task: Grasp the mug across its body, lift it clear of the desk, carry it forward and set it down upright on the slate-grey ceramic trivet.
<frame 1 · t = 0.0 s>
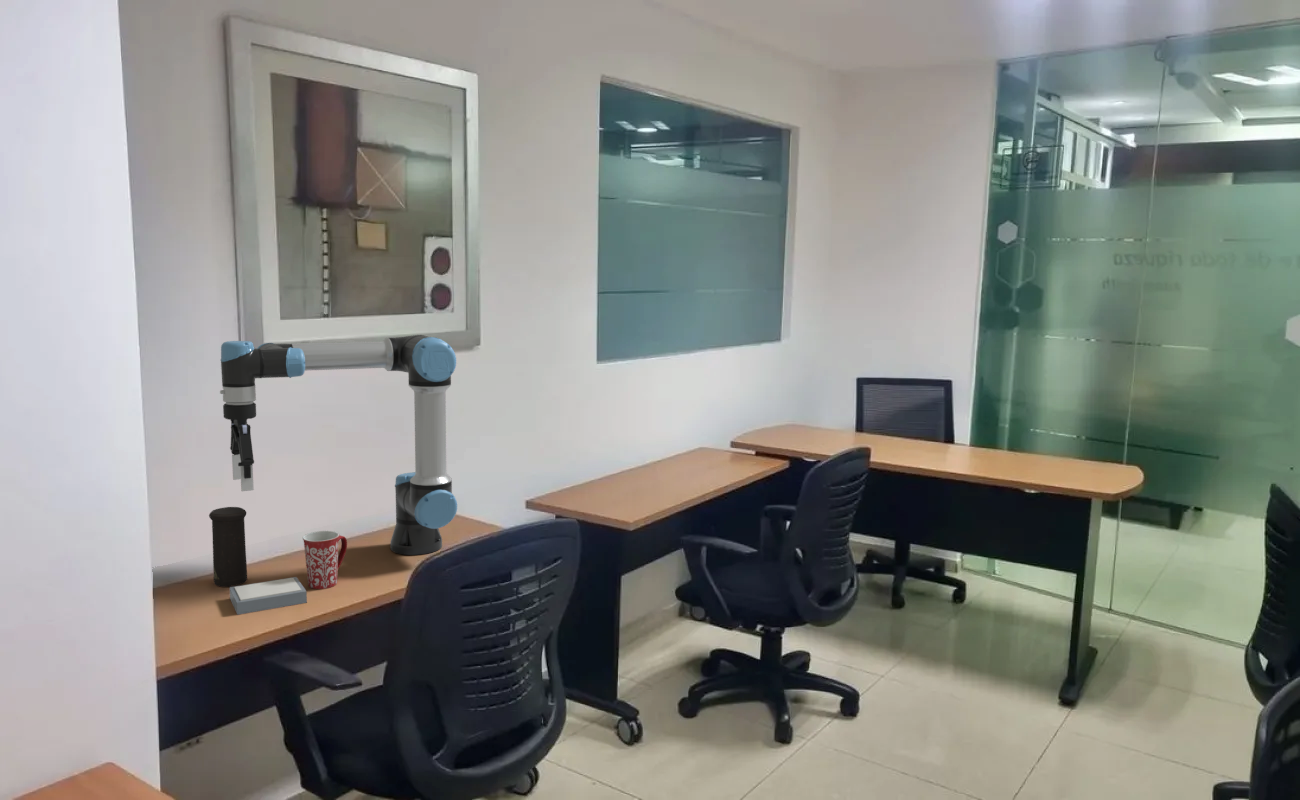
hand: (243, 484, 226), 28 cm above the table, fingers open, 13 cm apart
container: (230, 582, 236), on the table
trivet: (268, 600, 223), on the table
mug: (328, 583, 237), on the table
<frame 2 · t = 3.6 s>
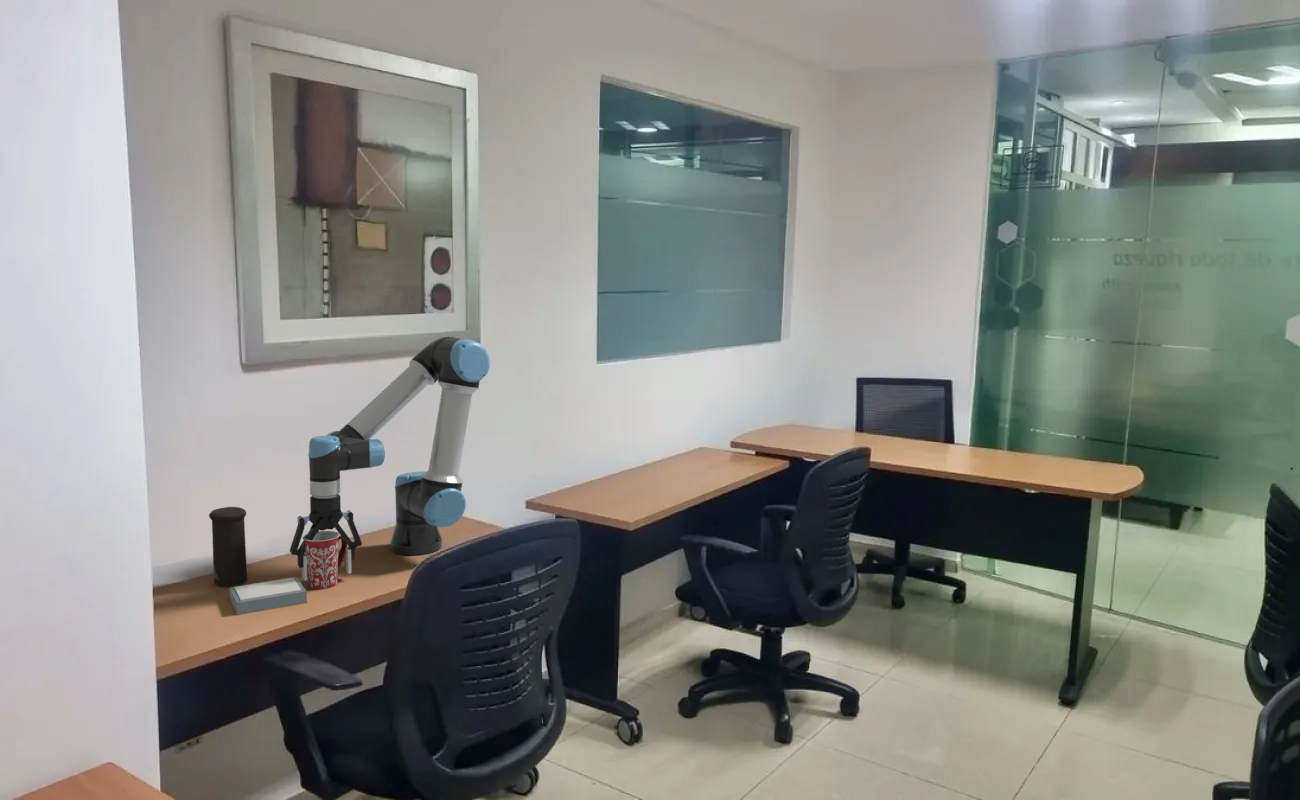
hand: (327, 575, 236), 2 cm above the table, fingers closed on mug, 11 cm apart
mug: (328, 583, 237), on the table, touching gripper
everything else where it was.
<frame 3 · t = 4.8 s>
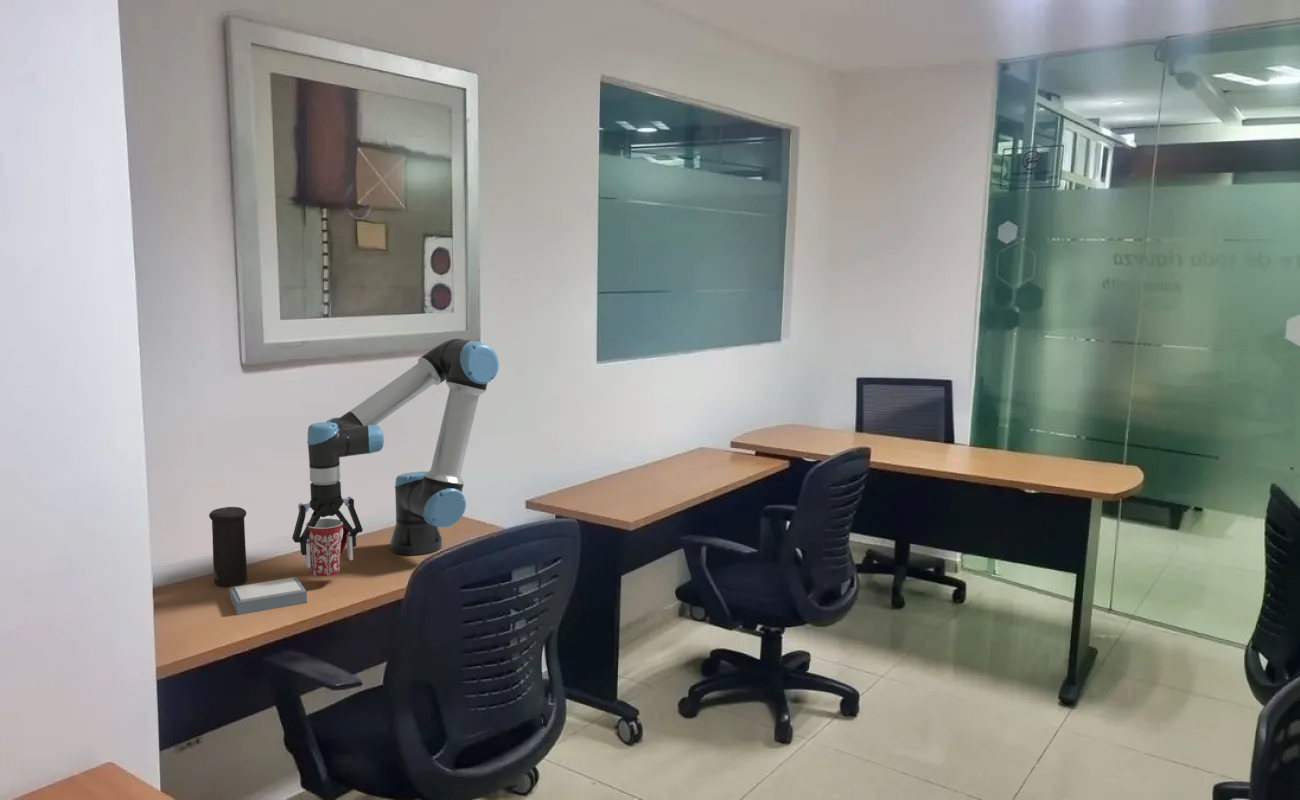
hand: (329, 562, 236), 6 cm above the table, fingers closed on mug, 10 cm apart
mug: (330, 571, 237), point 3 cm above the table, touching gripper
everything else where it was.
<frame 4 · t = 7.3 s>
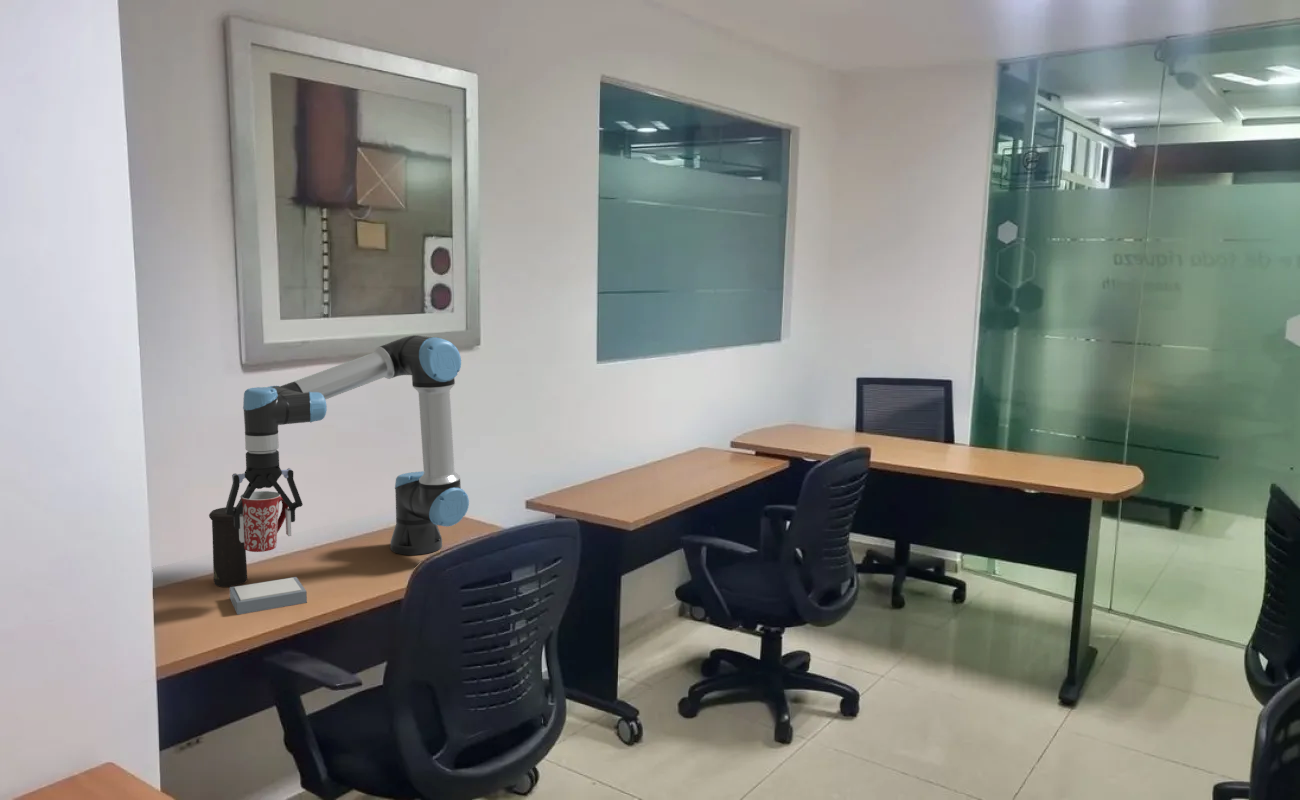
hand: (265, 537, 221), 16 cm above the table, fingers closed on mug, 10 cm apart
mug: (266, 547, 222), point 14 cm above the table, touching gripper
everything else where it was.
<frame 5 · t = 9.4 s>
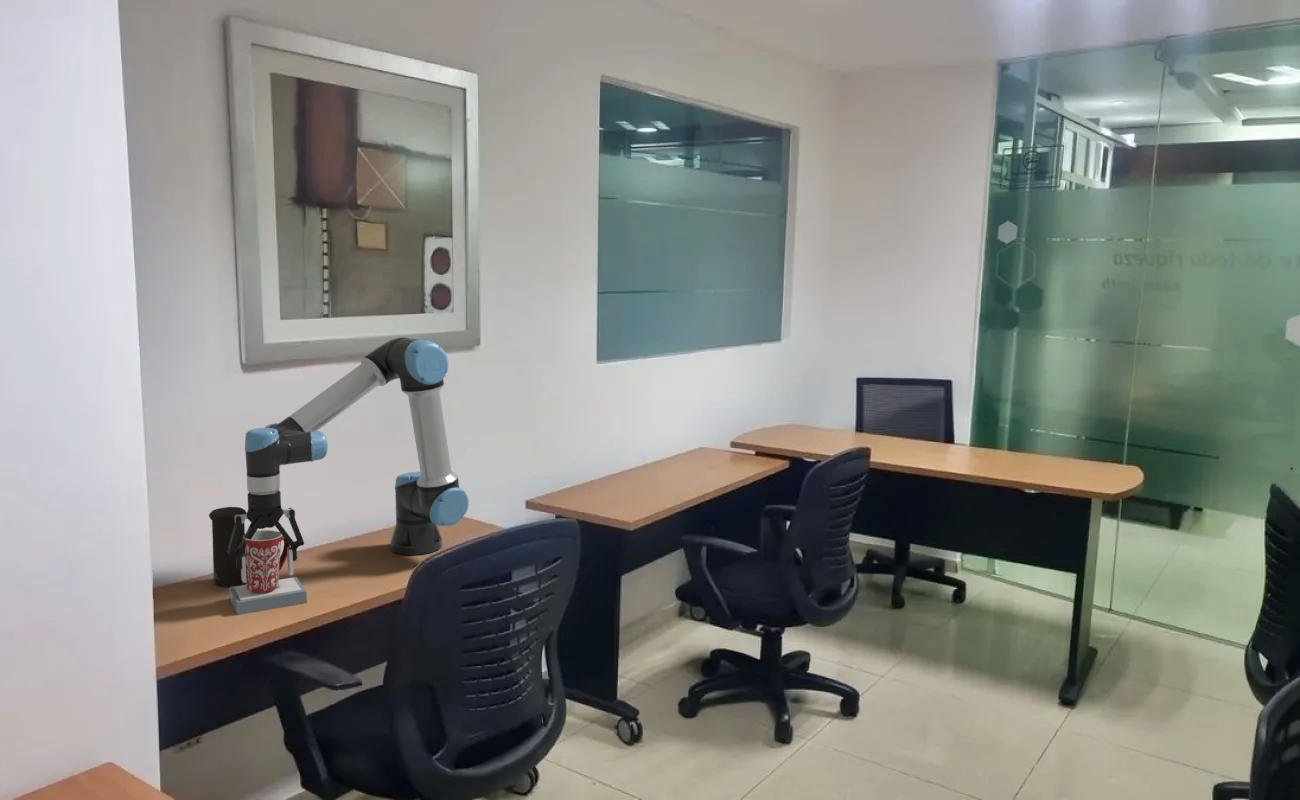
hand: (267, 577, 222), 6 cm above the table, fingers closed on mug, 10 cm apart
mug: (268, 586, 223), point 4 cm above the table, touching gripper
everything else where it was.
when the fingers open (6 cm above the table, at t = 9.9 s): mug stays where it is, resting on trivet.
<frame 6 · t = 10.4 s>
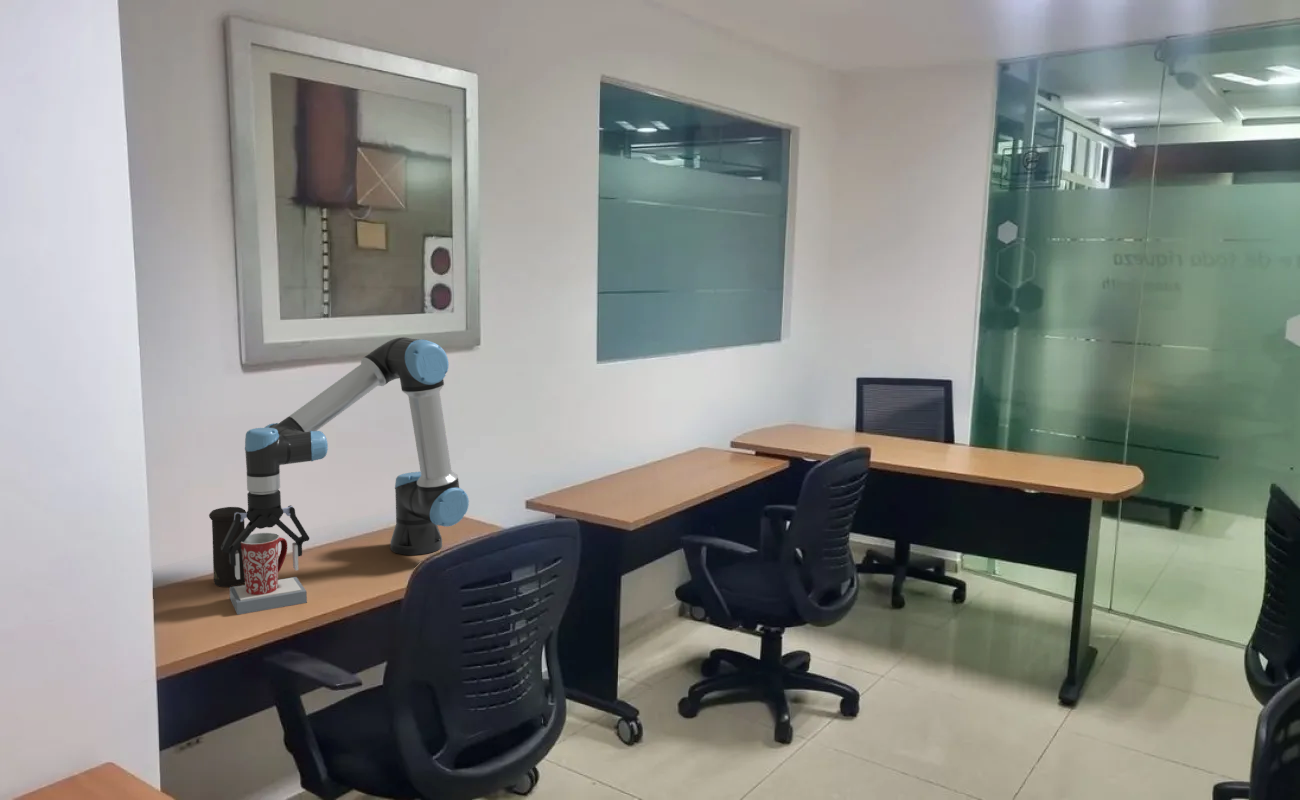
hand: (267, 573, 222), 7 cm above the table, fingers open, 13 cm apart
mug: (267, 588, 223), point 3 cm above the table, touching trivet
everything else where it was.
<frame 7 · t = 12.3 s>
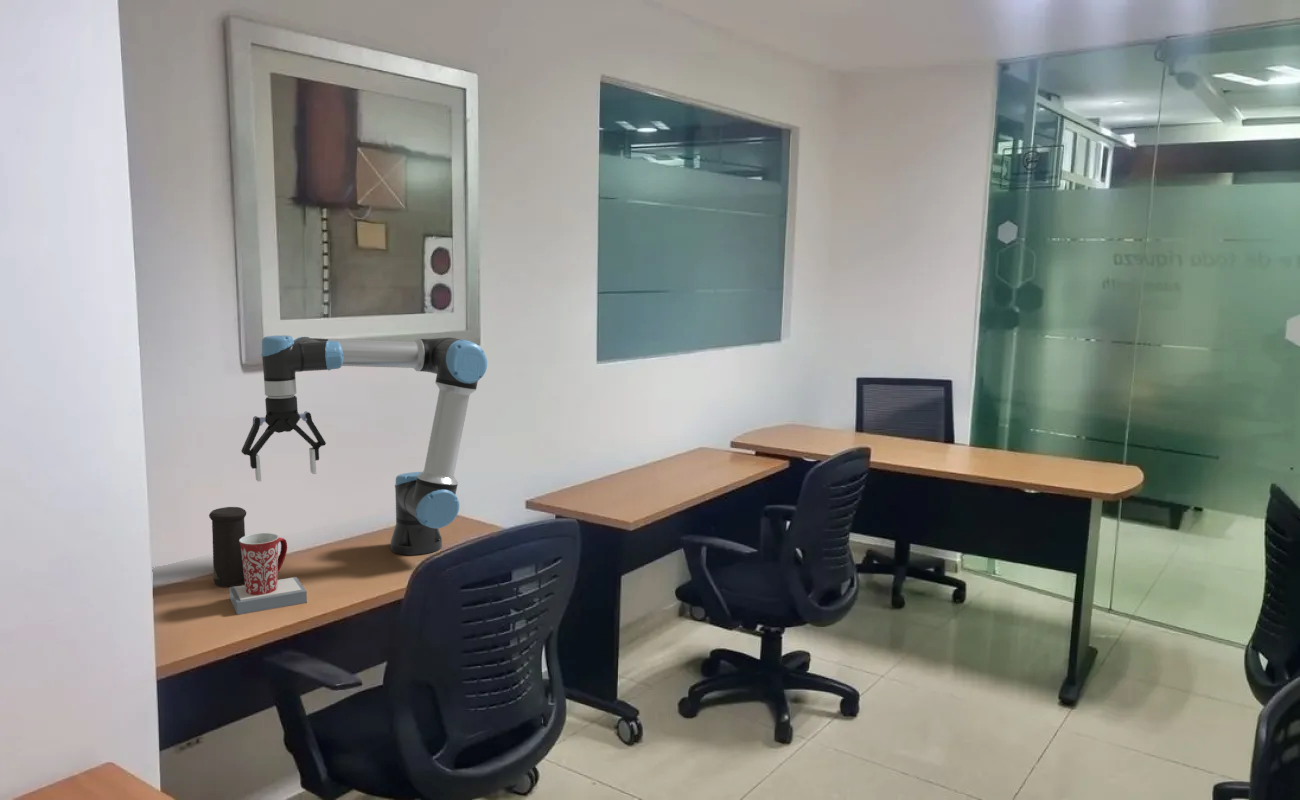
hand: (286, 476, 231), 29 cm above the table, fingers open, 13 cm apart
nothing on the table moved.
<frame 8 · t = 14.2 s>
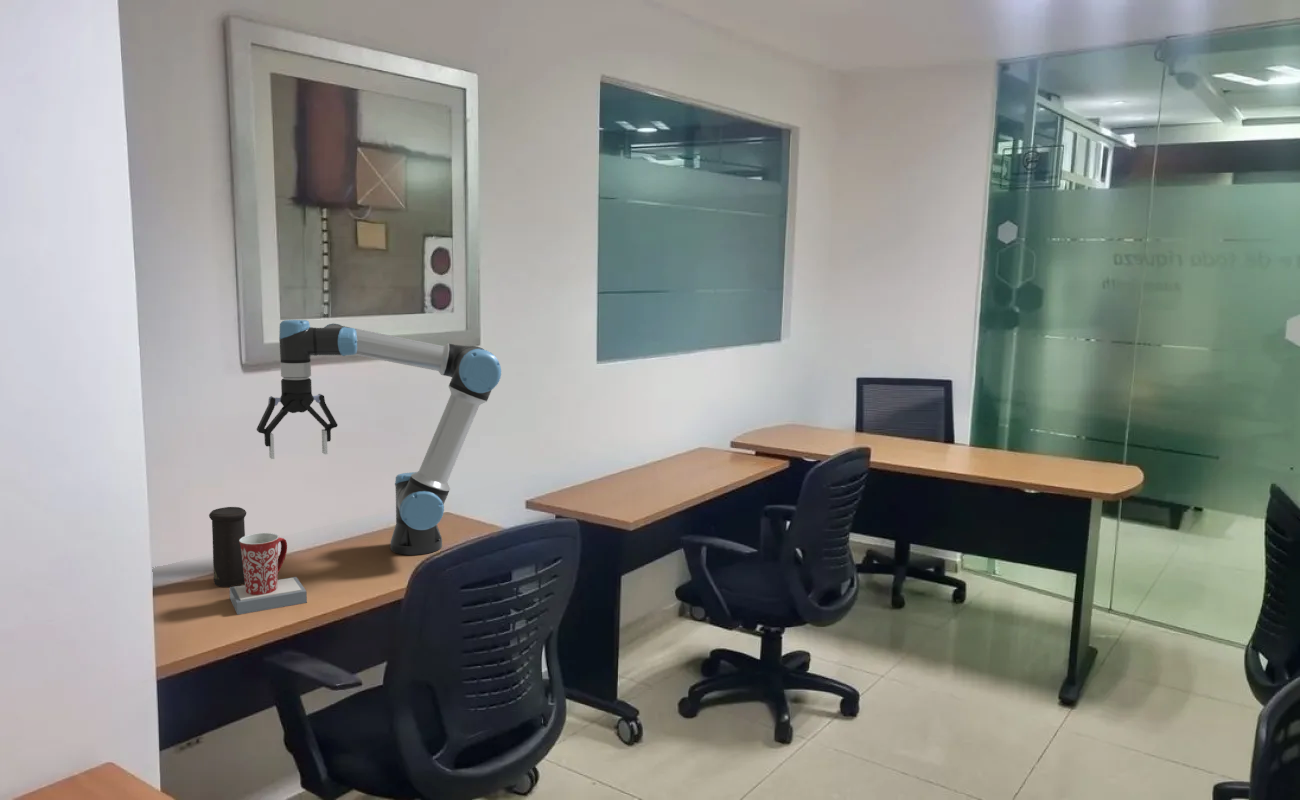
hand: (298, 455, 240), 33 cm above the table, fingers open, 13 cm apart
nothing on the table moved.
at the end: mug inside the target area on the trivet (0.5 cm from its centre), point 3.0 cm above the trivet's base; mug tilted 0°; the gripper is holding nothing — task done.
